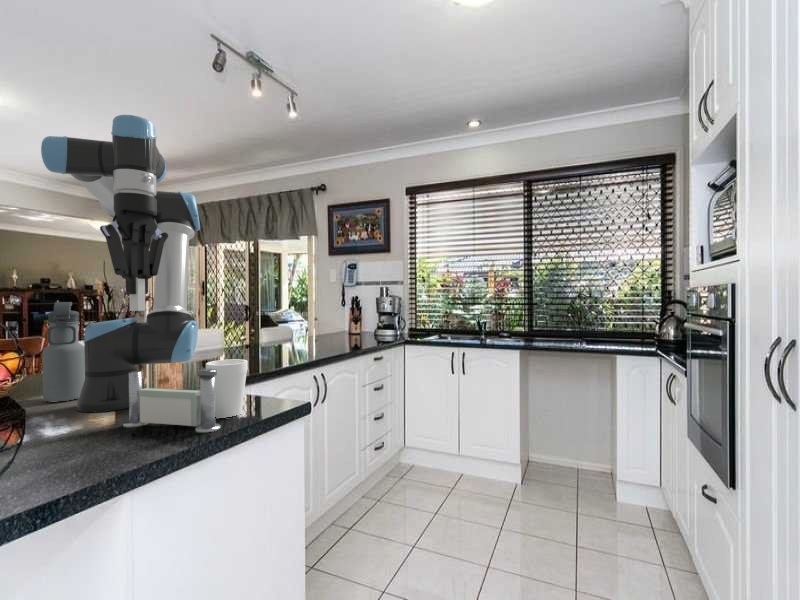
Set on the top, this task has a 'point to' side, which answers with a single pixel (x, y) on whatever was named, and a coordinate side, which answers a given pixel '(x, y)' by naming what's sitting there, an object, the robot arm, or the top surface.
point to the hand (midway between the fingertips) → (137, 310)
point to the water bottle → (63, 356)
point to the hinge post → (134, 400)
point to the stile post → (207, 401)
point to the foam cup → (229, 386)
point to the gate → (170, 406)
